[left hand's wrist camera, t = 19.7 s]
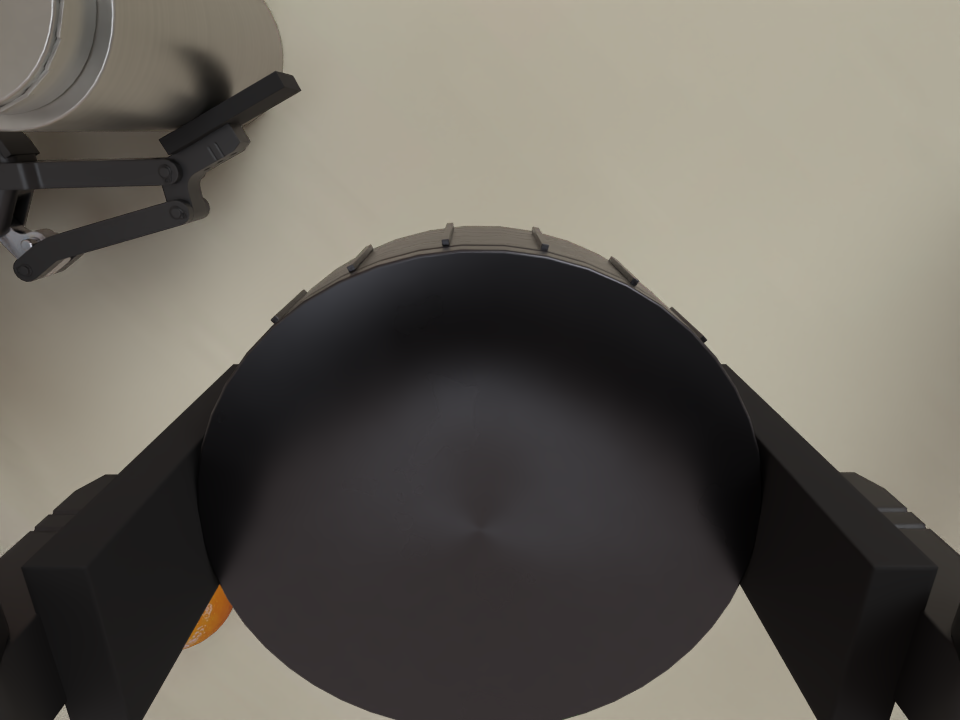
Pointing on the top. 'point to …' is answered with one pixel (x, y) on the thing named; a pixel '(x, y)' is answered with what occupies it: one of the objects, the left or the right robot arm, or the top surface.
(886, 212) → the top surface
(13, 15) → the jar
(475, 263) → the lid
